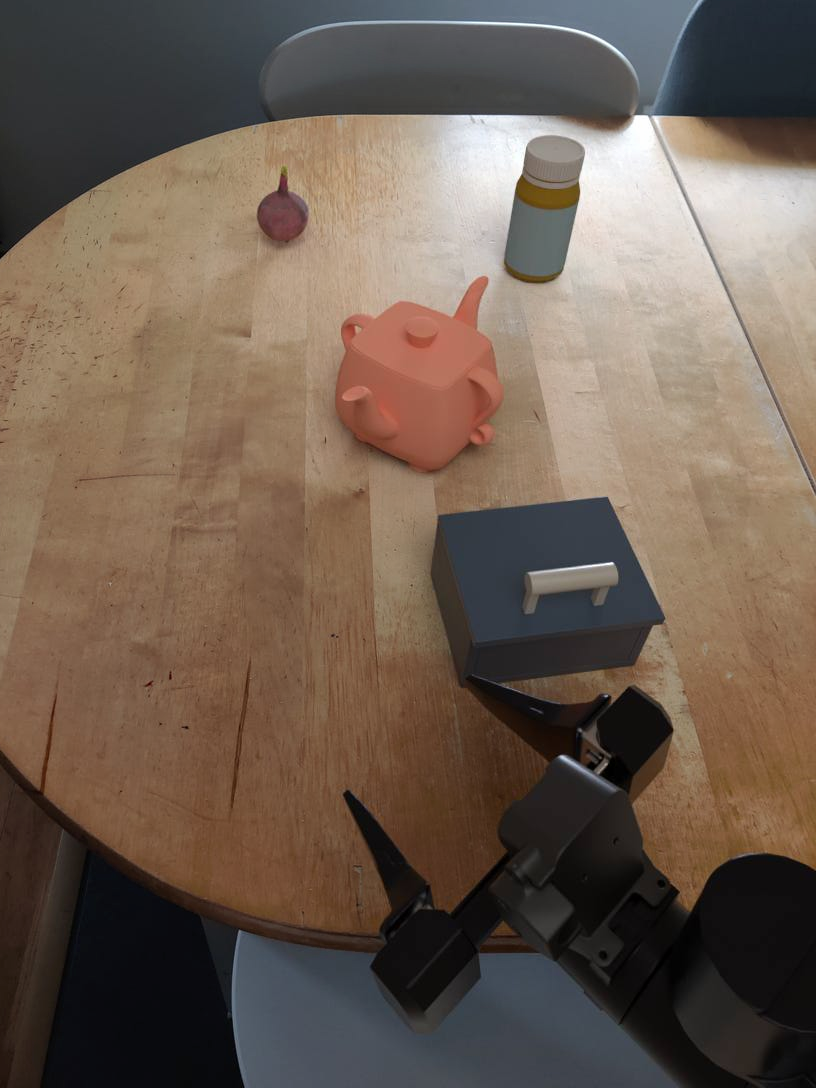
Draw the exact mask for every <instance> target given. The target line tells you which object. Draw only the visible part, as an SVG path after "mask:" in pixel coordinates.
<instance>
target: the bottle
mask: <svg viewBox="0 0 816 1088" xmlns="http://www.w3.org/2000/svg"><path fill="white" fill-rule="evenodd" d="M585 156H586V150H585V147H584V145H582V143H580V142H579V141H577V140H575V139H573V138H570V137H567V136H564V135H557V134H556V135H555V134H546V135H540V136H536V137H533V138H532V139H530V140H529V141H528V142H527V144H526V146H525V151H524V157H523V166H522V170H521V171H522V172H521V174H520V176H519V178H518V180H516V184H515V189H514V194H513V201H512V207H511V211H510V212H511V213H510V219H509V225H508V231H507V238H506V243H505V249H504V250H505V251H504V257H503V265H504V266H505V267H504V268H505V269H507V271H508V273H509V274H511V275H512V276H513V277H514V278H516V279H518V280H519V281H523V282H527V283H534V284H540V283H547V282H550V281H553V280H554V279H556V278H557V277H558V276H560V275H561V274H562V272H563V271H564V270H565V269H564V268H565V265H566V261H567V257H568V252H569V247H570V243H571V238H572V234H573V229H574V224H575V221H576V216H577V212H578V206H579V203H580V198H581V185H580V178H581V174H582V170H583V165H584V160H585Z"/></svg>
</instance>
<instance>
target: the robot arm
mask: <svg viewBox="0 0 816 1088" xmlns="http://www.w3.org/2000/svg"><path fill="white" fill-rule="evenodd" d="M465 686H466V689H467V691H468V692H470V693H471V694H472V695H473V696H474V698H475V699H476V700H477V701H478V702H479V703H480V704H481V705H482V706H483V707H484V708H485V709H486V710H487V711H488V712H489V713H491V715H493V716H494V717H495V718H496V719H498V720H499V721H500V722H501V723H502V724H503V725H505V726H506V727H507V728H508V729H509V730H510V731H512V732H513V733H514V734H515V735H516V736H518V737H519V738H520V739H521V740H522V741H523V742H525V744H527V745H528V746H529V747H531V749H533V750H534V751H535V752H537V754H539V755H540V756H541V757H542V758H543V759H544V760H546V761H547V762H548V764H547V765H546V767H545V769H544V770H545V771H544V772H545V773H544V775H543V776H541V778H540V779H539V780H538V781H537V782H536V783H535V784H533V785H534V786H532V787H531V789H529V791H527V793H526V794H525V795H524V796H522V798H521V799H517V800H514V801H512V802H511V803H510V804H509V805H508V807H507V808H506V809H505V811H504V812H503V814H502V815H501V817H500V819H499V822H498V827H497V837H498V839H499V842H500V844H501V845H502V846H503V848H504V849H505V851H506V852H505V853H504V854H503V856H501V858H500V859H499V860H498V861H497V862H496V863H495V864H494V865H493V866H492V868H490V870H489V871H488V872H486V874H485V875H484V876H483V877H482V879H480V881H478V883H477V884H476V885H475V886H474V887H473V888H472V889H471V890H470V891H469V892H468V893H467V894H466V896H464V898H462V900H461V901H460V902H459V903H458V904H457V905H456V906H455V908H453V910H452V911H451V912H450V913H448V912H447V910H445V909H443V908H440V909H438V908H436V906H435V903H434V898H433V893H432V888H431V884H430V882H429V881H427V880H426V879H425V878H424V877H423V876H422V875H421V874H420V873H419V872H418V871H417V869H415V868H414V867H413V866H412V865H411V864H410V862H409V861H408V860H407V859H406V857H405V856H404V855H403V853H402V852H401V851H400V849H399V848H398V847H397V845H396V844H395V842H394V841H393V840H392V839H391V837H390V836H389V835H388V833H387V832H386V831H385V829H384V828H383V827H382V825H381V824H380V823H379V821H378V820H377V819H376V817H375V816H374V815H373V813H372V811H370V809H369V808H368V807H367V806H366V804H365V803H363V802H362V800H360V799H359V798H358V796H356V794H355V793H353V792H352V791H351V790H350V789H346V790H345V791H344V792H343V793H342V797H343V800H344V802H345V805H346V807H347V809H348V811H349V813H350V816H351V817H352V819H353V822H354V824H355V826H356V829H357V830H358V833H359V835H360V837H361V839H362V841H363V843H364V845H365V848H366V850H367V853H368V855H369V857H370V859H371V862H372V863H373V865H374V867H375V869H376V873H377V874H378V876H379V878H380V881H381V883H382V885H383V888H384V891H385V895H386V897H387V901H388V903H389V906H390V909H391V910H390V912H389V913H388V915H387V916H386V917H384V918H383V920H382V922H381V923H380V925H379V929H378V933H379V937H380V939H381V941H382V944H383V947H381V949H380V950H379V951H378V952H377V954H376V955H375V957H374V958H373V960H372V962H371V964H370V965H369V969H370V971H371V974H372V977H373V978H374V981H375V983H376V985H377V987H378V991H379V992H380V994H381V996H382V998H383V999H384V1000H385V1001H386V1002H387V1004H388V1005H389V1006H390V1007H391V1009H392V1010H393V1011H394V1013H396V1015H397V1016H398V1017H399V1019H400V1020H401V1021H402V1022H403V1024H404V1025H405V1026H406V1027H407V1029H409V1030H410V1031H411V1032H412V1033H413V1034H421V1035H433V1034H434V1032H435V1031H436V1030H437V1029H438V1028H439V1027H440V1025H441V1024H442V1023H443V1022H444V1021H445V1020H446V1018H448V1016H449V1015H450V1014H452V1012H453V1011H454V1010H455V1008H456V1007H457V1006H458V1005H459V1004H460V1002H462V1000H463V999H464V998H465V997H466V996H467V994H468V993H469V992H470V991H471V990H472V989H473V988H474V986H476V984H477V983H478V982H479V981H480V980H481V979H482V972H481V963H480V956H479V955H480V954H479V949H480V948H481V947H482V945H483V944H484V943H485V942H486V941H487V940H488V938H490V937H491V935H492V934H493V933H494V932H495V931H496V930H497V928H499V926H501V924H502V923H503V922H504V923H505V925H506V926H507V927H508V928H509V929H510V930H511V931H513V933H514V934H515V935H517V937H518V938H520V939H521V940H522V941H523V942H524V943H525V944H527V945H528V946H529V947H530V948H532V950H533V949H534V951H536V952H538V953H540V954H541V955H543V956H544V957H546V958H548V959H549V960H550V961H552V962H555V963H556V964H557V965H558V966H559V967H560V968H561V969H562V970H563V971H564V972H565V973H566V974H567V975H568V976H569V977H570V978H571V979H572V980H573V981H574V982H575V983H576V984H577V985H578V986H579V987H580V988H581V989H582V990H583V994H584V995H585V996H586V997H587V998H588V999H589V1000H590V1001H591V1002H592V1003H593V1004H594V1005H595V1007H596V1008H598V1009H599V1011H601V1012H602V1011H603V1012H605V1014H606V1015H608V1017H609V1018H610V1019H611V1020H613V1022H614V1023H615V1024H616V1025H617V1026H620V1028H621V1030H623V1032H624V1033H625V1034H626V1035H627V1036H628V1037H630V1040H632V1041H633V1042H634V1043H635V1044H636V1045H637V1046H638V1047H639V1048H640V1049H641V1050H642V1051H643V1052H644V1053H645V1054H646V1055H647V1056H648V1057H649V1058H650V1059H651V1060H652V1062H654V1063H655V1064H656V1065H657V1066H658V1067H659V1068H660V1070H662V1072H664V1074H665V1075H666V1076H667V1077H669V1078H670V1079H671V1080H672V1082H673V1083H674V1084H675V1085H677V1087H678V1088H816V869H814V868H813V867H812V866H809V865H808V864H806V863H803V862H802V861H799V860H796V859H794V858H791V857H788V856H786V855H780V854H775V853H769V852H751V853H750V852H749V853H744V854H741V855H738V856H735V857H730V858H729V859H728V860H726V861H725V862H724V863H722V864H721V865H719V866H717V867H716V868H715V869H714V870H713V871H712V873H710V875H709V876H708V878H707V879H706V882H705V883H704V885H703V887H702V889H701V891H700V892H699V895H698V896H697V899H696V901H695V903H694V904H693V907H692V909H691V910H689V909H688V908H687V906H685V905H684V904H682V903H681V902H680V901H679V900H678V899H679V895H680V893H681V891H680V890H679V889H678V888H677V887H675V886H674V885H673V884H672V883H671V881H670V879H669V878H668V877H667V875H665V874H664V873H663V872H662V871H660V870H659V869H658V868H657V867H656V865H654V863H653V861H651V859H650V858H649V856H648V854H647V853H646V851H645V850H644V848H643V847H644V837H643V835H642V832H641V829H640V825H639V823H638V819H637V817H636V814H635V811H634V808H633V807H634V806H633V804H634V803H635V802H636V800H637V799H638V798H639V797H640V796H641V795H642V794H643V792H644V791H645V790H646V789H647V788H648V787H649V786H650V784H651V783H652V782H653V781H654V780H655V779H656V778H657V776H658V775H659V774H660V773H661V771H662V770H664V768H665V765H666V761H667V757H668V754H669V750H670V747H671V744H672V743H671V742H672V740H673V735H674V732H675V729H674V727H673V726H674V725H673V722H672V718H671V717H670V715H669V713H668V712H667V710H666V709H665V708H664V706H663V704H661V703H660V702H659V701H658V700H656V699H655V698H654V697H652V696H651V695H649V694H648V693H647V692H645V691H644V690H642V689H641V688H640V687H639V686H637V685H636V684H632V685H628V686H627V688H625V690H624V691H623V692H622V693H621V694H620V695H619V696H618V697H617V698H616V699H615V700H614V701H613V702H612V698H613V696H612V695H610V694H607V693H600V694H598V695H597V696H596V697H595V698H594V699H593V700H591V701H587V702H578V703H561V702H558V701H552V700H548V699H544V698H540V697H538V696H535V695H531V694H528V693H525V692H523V691H521V690H517V689H514V688H511V687H508V686H507V685H503V684H501V683H495V682H492V681H489V680H486V679H484V678H481V677H478V676H475V675H472V674H468V675H467V676H466V677H465Z"/></svg>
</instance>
